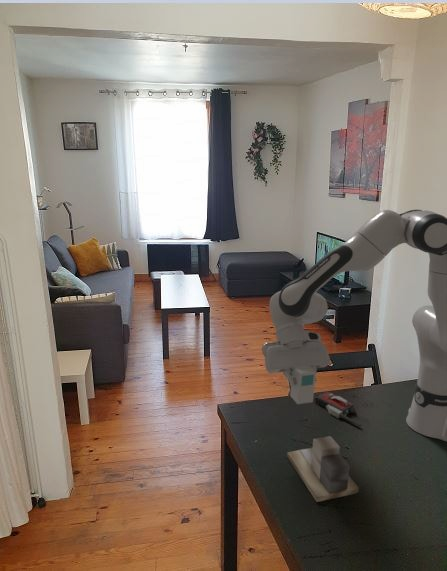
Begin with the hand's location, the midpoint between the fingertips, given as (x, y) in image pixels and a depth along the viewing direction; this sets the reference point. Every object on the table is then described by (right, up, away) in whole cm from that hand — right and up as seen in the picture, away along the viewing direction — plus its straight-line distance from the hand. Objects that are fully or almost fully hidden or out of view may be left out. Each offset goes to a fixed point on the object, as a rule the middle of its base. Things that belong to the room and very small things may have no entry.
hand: (303, 383), depth 124 cm
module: (0, -5, +2) cm, 5 cm away
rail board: (+3, -23, -9) cm, 25 cm away
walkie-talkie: (+17, -15, +22) cm, 32 cm away
